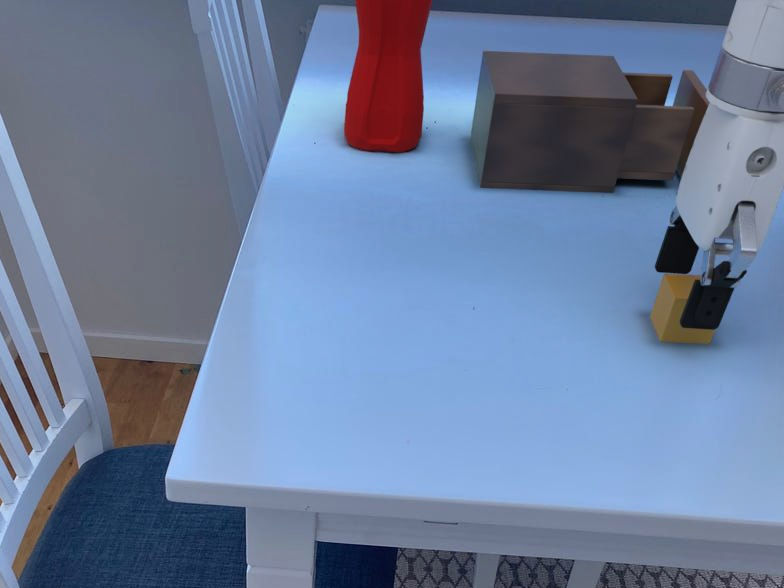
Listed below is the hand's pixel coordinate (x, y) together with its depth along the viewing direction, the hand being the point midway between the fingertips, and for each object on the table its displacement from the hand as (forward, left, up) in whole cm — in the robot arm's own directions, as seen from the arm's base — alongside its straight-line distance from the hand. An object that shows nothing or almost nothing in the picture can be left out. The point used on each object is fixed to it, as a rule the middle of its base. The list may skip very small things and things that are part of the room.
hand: (684, 298), depth 82 cm
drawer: (-5, -36, -2) cm, 36 cm away
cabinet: (+7, -36, -3) cm, 37 cm away
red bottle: (+25, -43, -4) cm, 50 cm away
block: (-1, 0, -3) cm, 3 cm away
